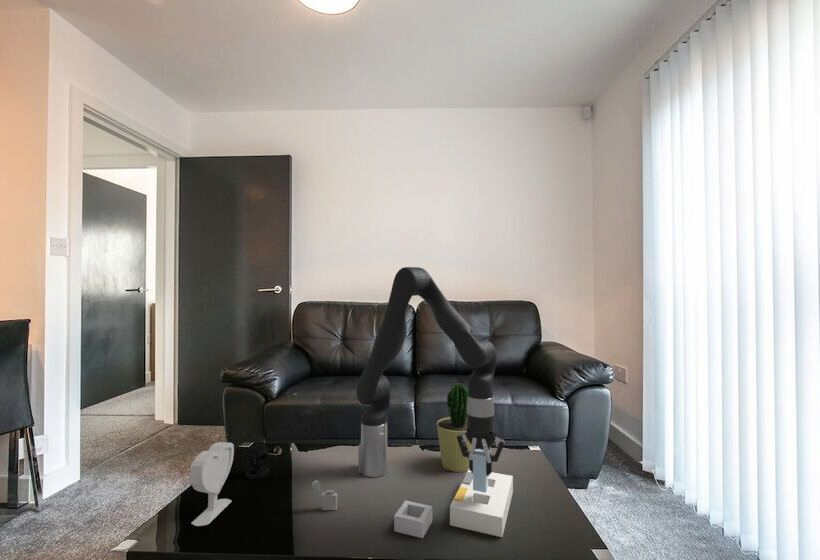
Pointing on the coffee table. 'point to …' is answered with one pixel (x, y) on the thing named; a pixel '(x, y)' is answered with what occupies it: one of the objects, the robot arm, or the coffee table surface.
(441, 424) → the potted cactus
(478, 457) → the plug
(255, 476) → the webcam
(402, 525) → the holster
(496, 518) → the port panel
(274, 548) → the coffee table surface
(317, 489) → the lighter
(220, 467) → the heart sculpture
